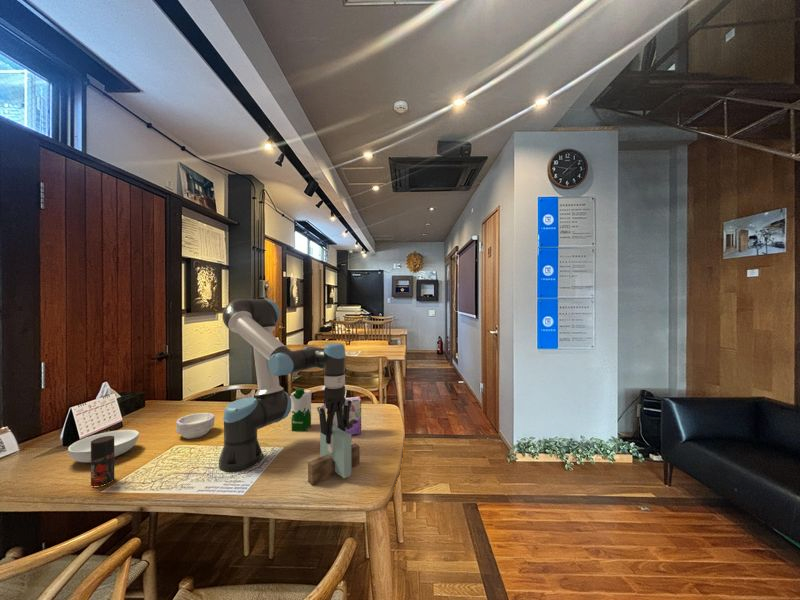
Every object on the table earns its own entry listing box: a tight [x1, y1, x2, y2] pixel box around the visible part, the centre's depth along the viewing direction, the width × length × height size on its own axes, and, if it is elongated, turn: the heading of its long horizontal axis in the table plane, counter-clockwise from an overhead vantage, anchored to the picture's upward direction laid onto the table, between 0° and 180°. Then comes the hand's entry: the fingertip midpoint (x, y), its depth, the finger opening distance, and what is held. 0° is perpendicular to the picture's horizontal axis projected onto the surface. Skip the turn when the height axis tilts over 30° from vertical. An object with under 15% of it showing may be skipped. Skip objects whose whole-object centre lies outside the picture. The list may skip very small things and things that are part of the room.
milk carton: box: [290, 387, 313, 432], centre depth 153 cm, size 9×9×20 cm
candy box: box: [333, 396, 362, 436], centre depth 146 cm, size 14×6×16 cm, turn 105°
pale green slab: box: [319, 426, 352, 479], centre depth 113 cm, size 3×16×14 cm, turn 44°
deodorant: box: [90, 436, 115, 488], centre depth 108 cm, size 6×6×15 cm
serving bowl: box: [67, 429, 140, 463], centre depth 126 cm, size 21×21×7 cm
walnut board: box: [307, 443, 361, 486], centre depth 113 cm, size 20×3×7 cm, turn 134°
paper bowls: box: [175, 412, 215, 440], centre depth 146 cm, size 15×15×8 cm
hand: (335, 449), depth 113 cm, fingers closed on pale green slab, 3 cm apart
